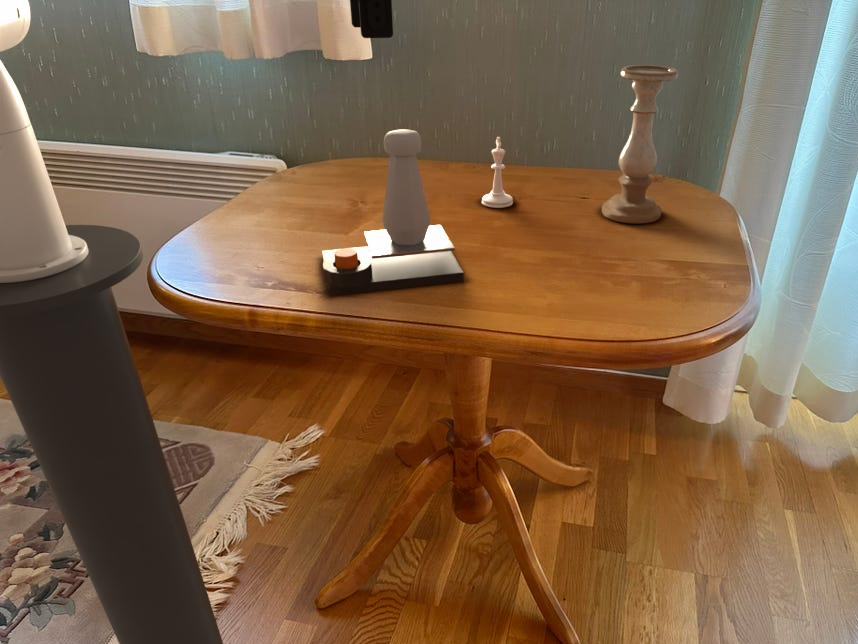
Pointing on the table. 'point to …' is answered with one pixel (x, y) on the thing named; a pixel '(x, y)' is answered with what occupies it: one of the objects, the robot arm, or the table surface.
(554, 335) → the table surface
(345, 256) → the button
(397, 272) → the scale
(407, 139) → the salt shaker
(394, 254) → the weighing plate
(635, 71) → the candle holder
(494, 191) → the chess piece
